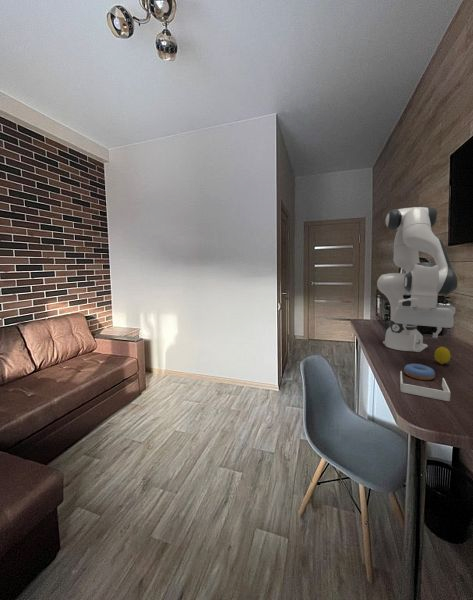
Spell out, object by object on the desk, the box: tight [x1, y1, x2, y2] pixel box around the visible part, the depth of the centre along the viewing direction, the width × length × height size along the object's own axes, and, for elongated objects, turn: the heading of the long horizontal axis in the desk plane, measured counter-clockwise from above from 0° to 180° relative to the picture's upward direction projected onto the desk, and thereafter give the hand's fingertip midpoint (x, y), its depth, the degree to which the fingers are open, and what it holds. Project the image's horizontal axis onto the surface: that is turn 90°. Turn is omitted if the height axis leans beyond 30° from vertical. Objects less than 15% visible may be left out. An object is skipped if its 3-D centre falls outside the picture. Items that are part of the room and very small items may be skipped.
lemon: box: [433, 346, 451, 365], centre depth 117 cm, size 6×6×8 cm
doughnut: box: [403, 363, 436, 381], centre depth 104 cm, size 10×10×5 cm
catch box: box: [399, 370, 451, 403], centre depth 93 cm, size 13×13×3 cm
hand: (420, 336), depth 110 cm, fingers open, 8 cm apart
